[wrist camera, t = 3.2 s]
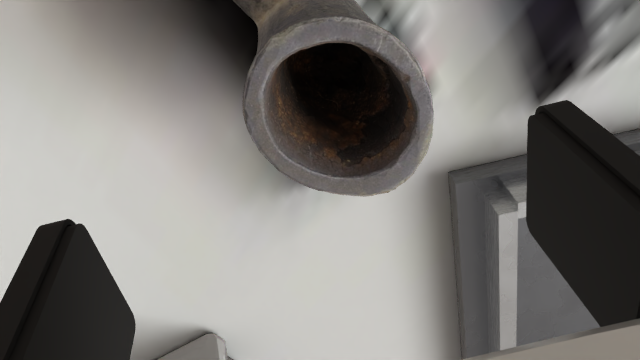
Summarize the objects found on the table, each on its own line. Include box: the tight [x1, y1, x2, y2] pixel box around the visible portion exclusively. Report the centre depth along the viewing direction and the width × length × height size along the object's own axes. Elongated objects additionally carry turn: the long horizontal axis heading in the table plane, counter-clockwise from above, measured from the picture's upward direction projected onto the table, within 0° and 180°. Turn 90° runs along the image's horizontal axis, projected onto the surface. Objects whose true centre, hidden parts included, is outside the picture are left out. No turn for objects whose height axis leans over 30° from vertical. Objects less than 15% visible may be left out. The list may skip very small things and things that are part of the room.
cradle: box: [448, 129, 640, 359], centre depth 33 cm, size 19×15×3 cm
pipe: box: [233, 0, 433, 196], centre depth 20 cm, size 6×13×8 cm, turn 38°
